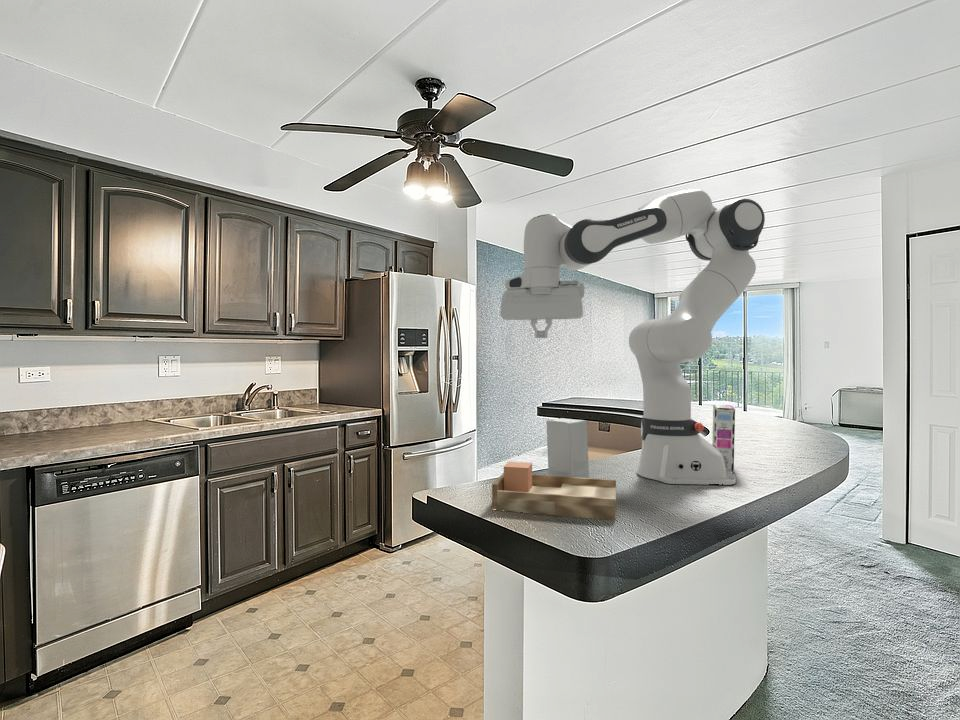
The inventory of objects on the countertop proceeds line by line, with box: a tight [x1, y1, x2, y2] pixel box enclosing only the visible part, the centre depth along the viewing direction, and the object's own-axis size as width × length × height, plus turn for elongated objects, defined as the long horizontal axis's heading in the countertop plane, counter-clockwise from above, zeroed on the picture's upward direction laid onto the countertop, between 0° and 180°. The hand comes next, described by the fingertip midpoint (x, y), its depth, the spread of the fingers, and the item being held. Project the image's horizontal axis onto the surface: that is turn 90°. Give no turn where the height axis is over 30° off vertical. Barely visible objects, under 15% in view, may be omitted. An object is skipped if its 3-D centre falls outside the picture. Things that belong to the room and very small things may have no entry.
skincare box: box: [545, 417, 590, 478], centre depth 121 cm, size 8×6×15 cm
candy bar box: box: [711, 404, 736, 474], centre depth 136 cm, size 11×5×16 cm, turn 158°
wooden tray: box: [491, 472, 617, 521], centre depth 104 cm, size 23×15×5 cm, turn 75°
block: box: [503, 461, 533, 492], centre depth 106 cm, size 5×5×5 cm
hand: (541, 337), depth 128 cm, fingers closed
